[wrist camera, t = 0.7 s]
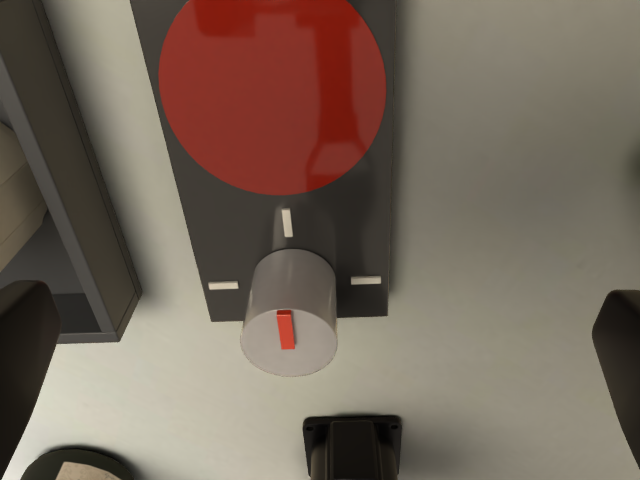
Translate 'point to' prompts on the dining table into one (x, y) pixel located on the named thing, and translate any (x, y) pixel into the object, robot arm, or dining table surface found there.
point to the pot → (17, 198)
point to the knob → (291, 314)
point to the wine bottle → (75, 467)
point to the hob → (286, 197)
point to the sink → (62, 187)
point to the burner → (273, 90)
